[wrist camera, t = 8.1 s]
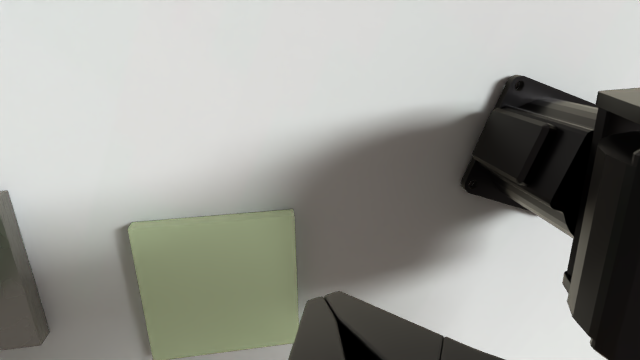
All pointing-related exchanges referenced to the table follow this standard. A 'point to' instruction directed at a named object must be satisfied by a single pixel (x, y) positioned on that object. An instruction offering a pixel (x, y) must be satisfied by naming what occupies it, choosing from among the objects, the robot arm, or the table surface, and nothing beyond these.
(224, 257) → the tile
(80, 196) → the table surface
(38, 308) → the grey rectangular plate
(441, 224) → the table surface
